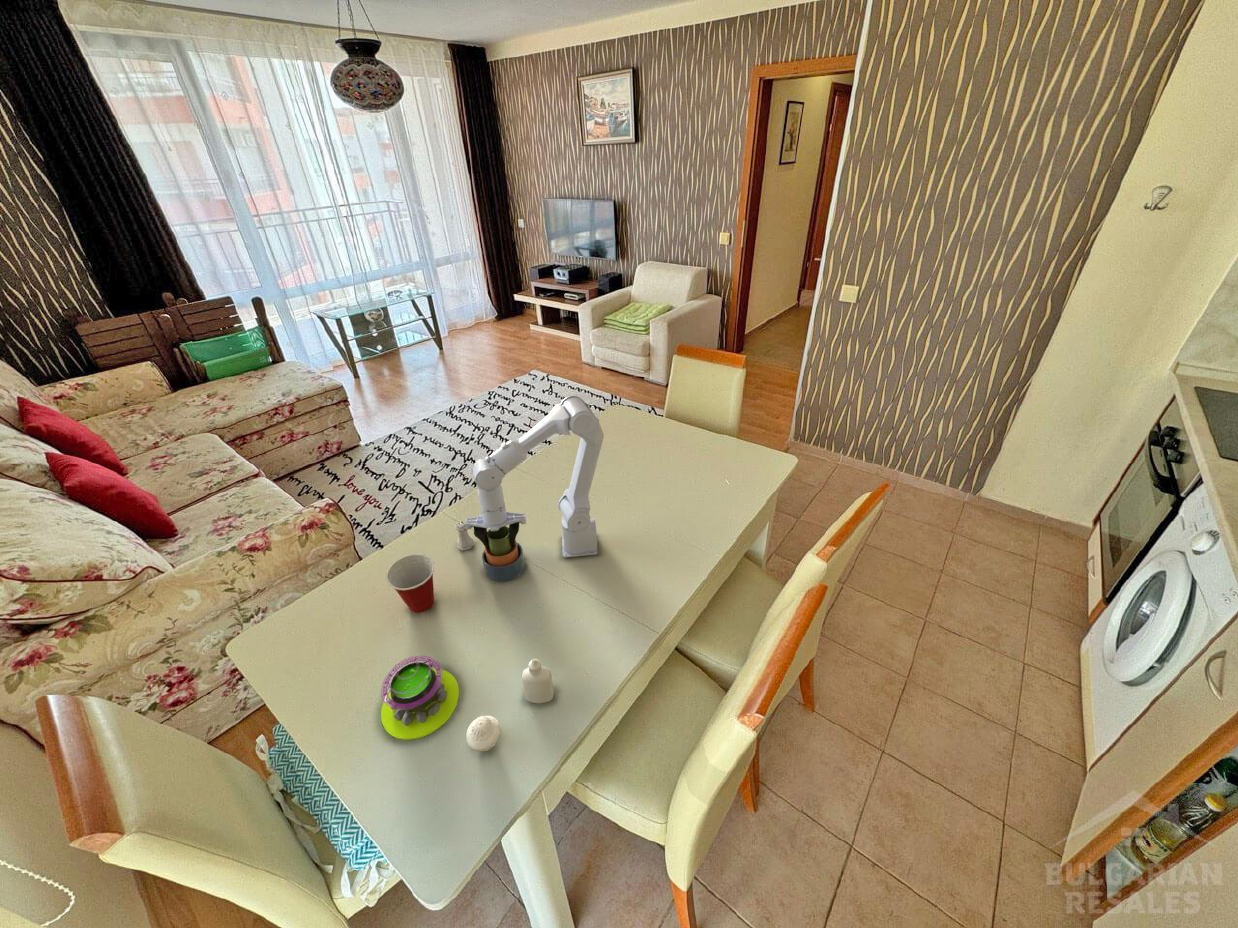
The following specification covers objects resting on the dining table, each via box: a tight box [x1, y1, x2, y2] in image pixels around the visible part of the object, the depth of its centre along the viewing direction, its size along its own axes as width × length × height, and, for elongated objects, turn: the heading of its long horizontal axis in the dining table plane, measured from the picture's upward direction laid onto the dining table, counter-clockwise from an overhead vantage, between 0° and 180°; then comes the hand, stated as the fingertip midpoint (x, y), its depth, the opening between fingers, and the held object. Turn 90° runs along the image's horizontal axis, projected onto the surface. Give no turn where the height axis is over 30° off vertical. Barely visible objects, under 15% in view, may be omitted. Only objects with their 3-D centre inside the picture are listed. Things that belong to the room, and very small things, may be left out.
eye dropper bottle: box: [521, 657, 555, 704], centre depth 96 cm, size 4×6×12 cm
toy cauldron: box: [380, 654, 460, 741], centre depth 96 cm, size 15×15×11 cm
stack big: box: [481, 542, 526, 583], centre depth 129 cm, size 10×10×5 cm
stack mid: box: [484, 539, 519, 567], centre depth 128 cm, size 8×8×8 cm
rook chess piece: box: [454, 520, 475, 551], centre depth 135 cm, size 4×4×8 cm
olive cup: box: [487, 525, 513, 557], centre depth 125 cm, size 6×6×6 cm
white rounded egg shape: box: [465, 715, 501, 752], centre depth 90 cm, size 6×6×7 cm
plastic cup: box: [385, 552, 435, 614], centre depth 116 cm, size 11×11×12 cm
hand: (500, 545), depth 126 cm, fingers closed on olive cup, 6 cm apart
